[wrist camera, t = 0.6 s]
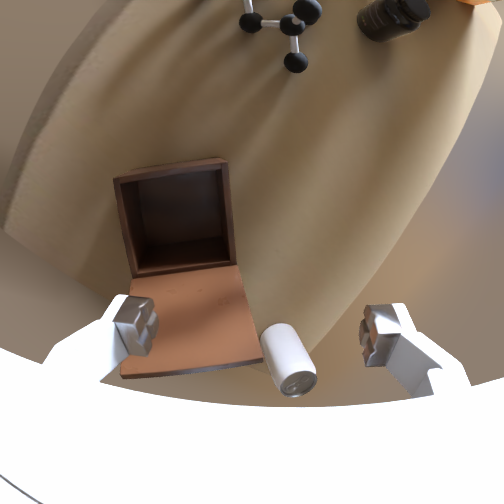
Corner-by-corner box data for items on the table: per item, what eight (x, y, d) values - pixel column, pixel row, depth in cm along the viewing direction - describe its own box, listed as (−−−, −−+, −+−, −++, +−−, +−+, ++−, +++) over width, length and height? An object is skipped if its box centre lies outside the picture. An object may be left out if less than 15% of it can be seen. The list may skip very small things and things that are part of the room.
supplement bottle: (382, 9, 32) (426, -11, 21) (394, 43, 35) (442, 29, 24) (349, 7, 32) (391, -20, 21) (362, 43, 34) (410, 23, 23)
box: (131, 169, 36) (112, 178, 27) (219, 157, 37) (227, 161, 29) (144, 249, 40) (132, 279, 31) (227, 238, 42) (237, 265, 33)
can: (251, 338, 49) (268, 388, 38) (281, 315, 48) (305, 361, 37) (273, 356, 51) (292, 404, 40) (301, 335, 51) (327, 380, 40)
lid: (119, 374, 21) (122, 379, 21) (263, 357, 22) (263, 362, 23) (131, 278, 30) (133, 284, 31) (237, 264, 32) (237, 270, 33)
